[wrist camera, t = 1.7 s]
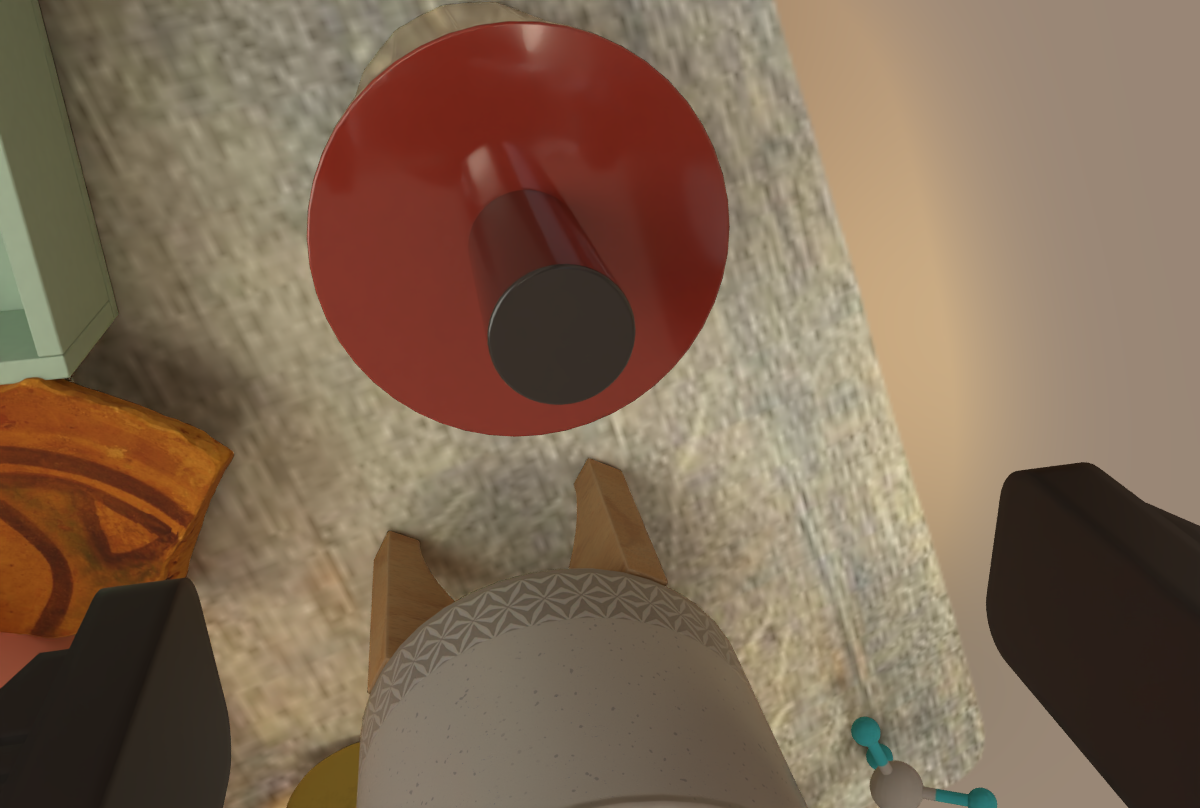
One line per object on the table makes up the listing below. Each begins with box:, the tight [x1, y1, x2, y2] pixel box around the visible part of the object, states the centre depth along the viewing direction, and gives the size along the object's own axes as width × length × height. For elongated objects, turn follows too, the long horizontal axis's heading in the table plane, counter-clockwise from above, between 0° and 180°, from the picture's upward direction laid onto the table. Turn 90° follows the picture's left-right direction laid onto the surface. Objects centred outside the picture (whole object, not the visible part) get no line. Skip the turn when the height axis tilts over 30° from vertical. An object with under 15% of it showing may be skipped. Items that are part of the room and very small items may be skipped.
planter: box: [356, 458, 808, 808], centre depth 33 cm, size 13×13×18 cm
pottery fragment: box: [0, 377, 234, 638], centre depth 32 cm, size 10×5×10 cm
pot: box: [355, 2, 547, 97], centre depth 28 cm, size 8×8×14 cm
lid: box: [307, 20, 730, 436], centre depth 19 cm, size 9×9×7 cm
